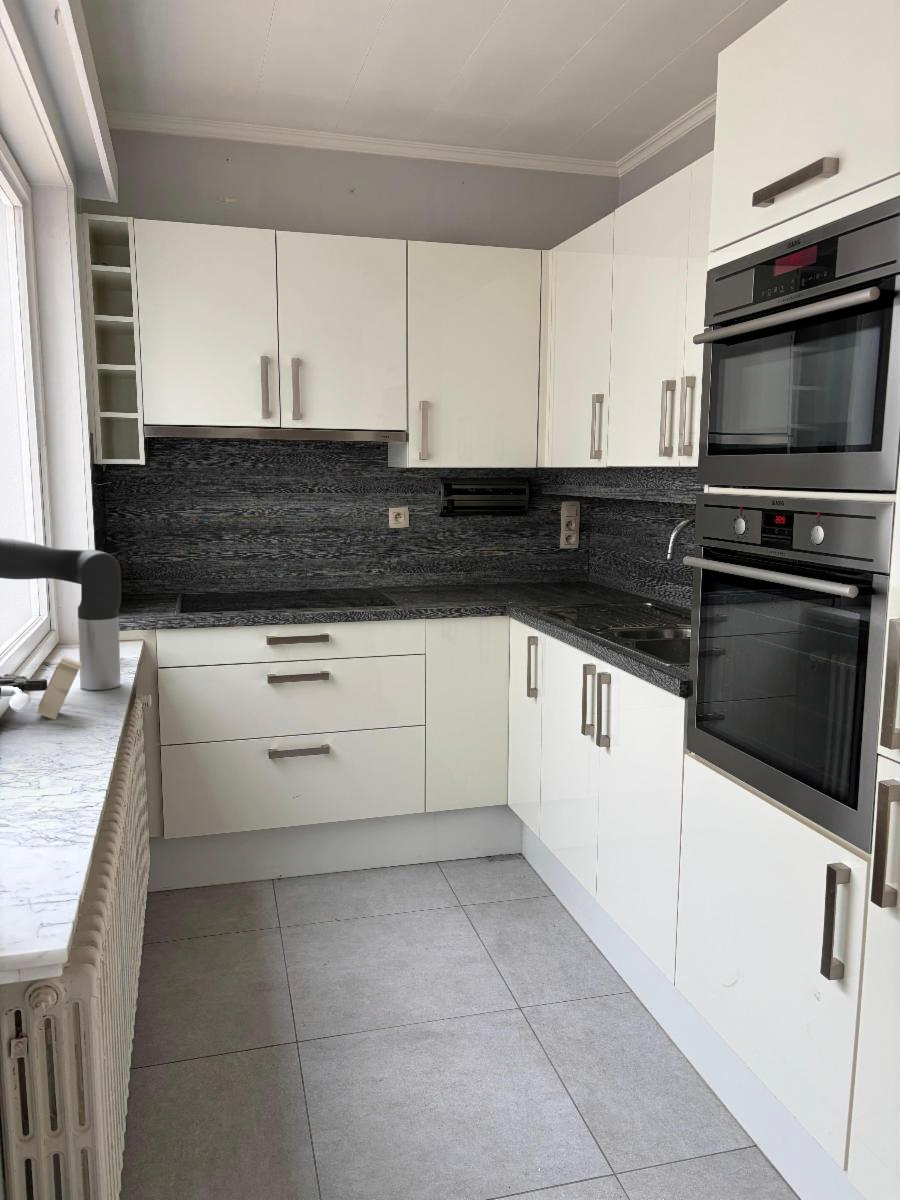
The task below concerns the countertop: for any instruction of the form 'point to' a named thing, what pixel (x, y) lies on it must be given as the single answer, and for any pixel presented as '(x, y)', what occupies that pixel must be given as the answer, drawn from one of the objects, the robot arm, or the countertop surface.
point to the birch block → (58, 687)
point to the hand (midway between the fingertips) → (46, 684)
